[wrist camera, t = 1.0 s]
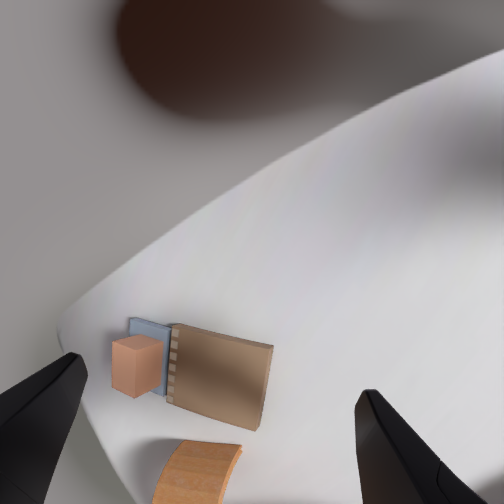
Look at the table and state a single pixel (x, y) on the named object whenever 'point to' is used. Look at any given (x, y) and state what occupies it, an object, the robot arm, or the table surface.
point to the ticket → (218, 375)
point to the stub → (142, 359)
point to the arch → (197, 473)
